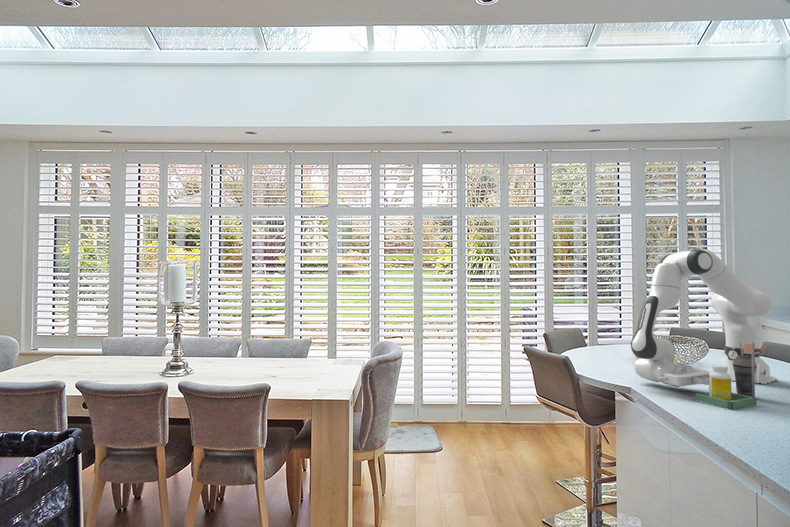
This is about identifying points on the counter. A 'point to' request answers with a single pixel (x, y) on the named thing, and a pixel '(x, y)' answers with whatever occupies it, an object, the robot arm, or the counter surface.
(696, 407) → the counter surface
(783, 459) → the counter surface
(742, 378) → the beverage cup
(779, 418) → the counter surface
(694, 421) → the counter surface
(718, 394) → the supplement bottle
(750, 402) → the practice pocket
